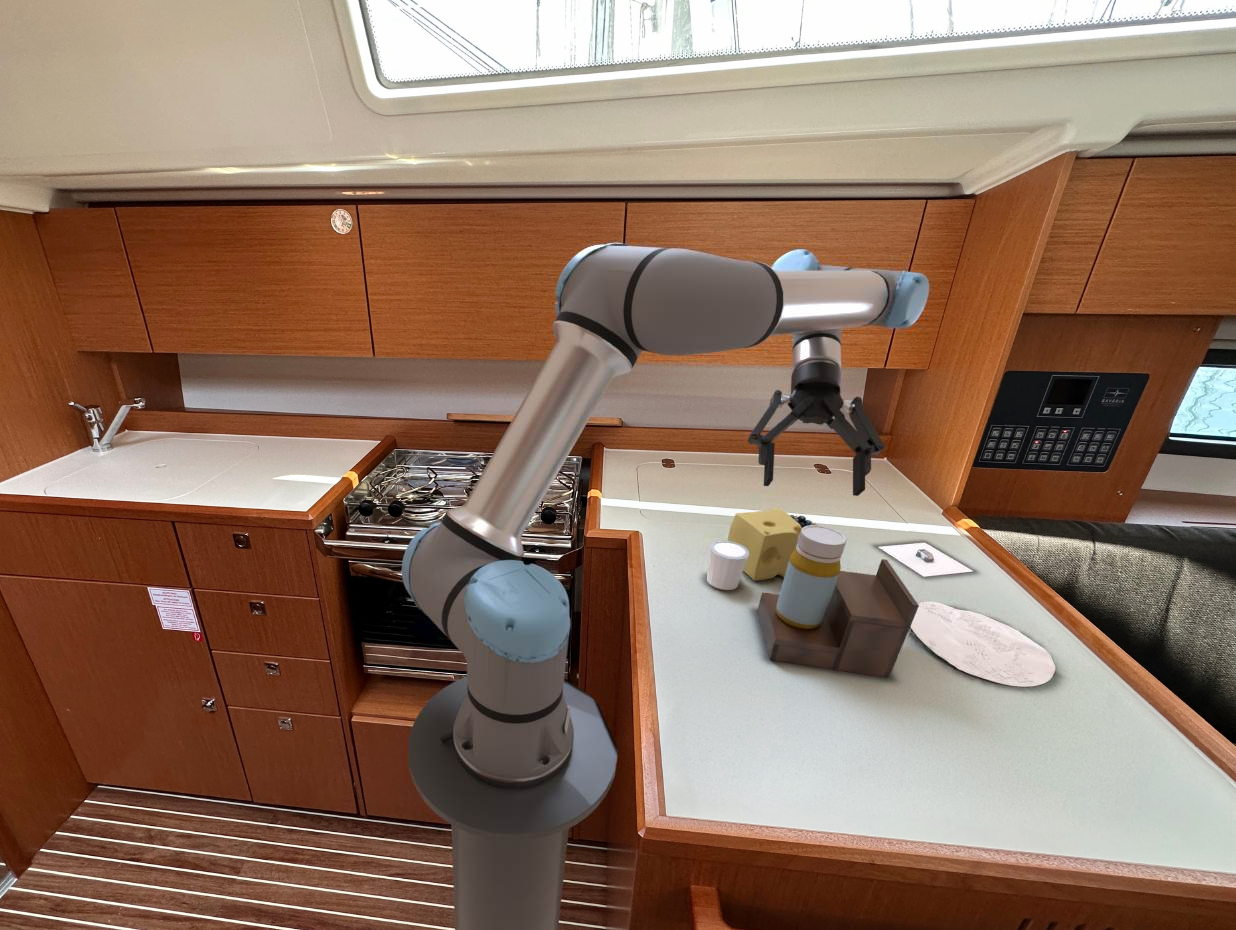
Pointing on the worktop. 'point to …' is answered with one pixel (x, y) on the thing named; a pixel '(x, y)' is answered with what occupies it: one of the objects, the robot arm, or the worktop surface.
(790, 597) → the bottle
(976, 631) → the plaque
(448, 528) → the robot arm
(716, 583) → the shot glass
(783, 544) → the cheese
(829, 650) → the step rack
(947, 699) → the worktop surface
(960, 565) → the white paper sheet
